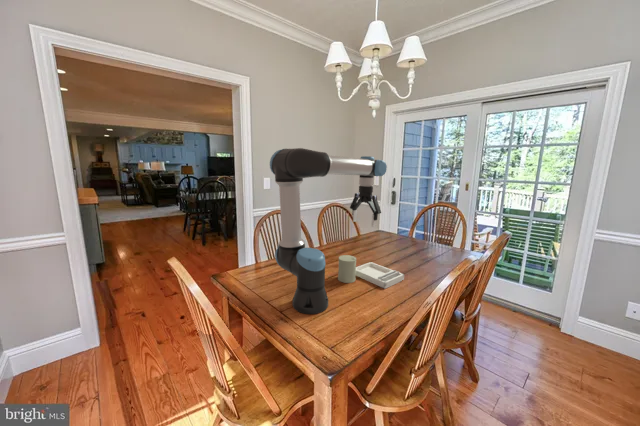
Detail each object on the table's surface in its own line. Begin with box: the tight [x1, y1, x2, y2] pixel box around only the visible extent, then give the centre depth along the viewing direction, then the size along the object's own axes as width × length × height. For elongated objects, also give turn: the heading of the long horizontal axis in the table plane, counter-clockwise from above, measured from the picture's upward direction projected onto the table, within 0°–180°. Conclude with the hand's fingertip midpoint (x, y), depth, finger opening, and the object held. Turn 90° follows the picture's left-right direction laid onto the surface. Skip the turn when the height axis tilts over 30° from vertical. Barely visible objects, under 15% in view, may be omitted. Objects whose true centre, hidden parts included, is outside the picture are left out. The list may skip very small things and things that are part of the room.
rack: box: [355, 261, 405, 290], centre depth 139 cm, size 16×22×4 cm
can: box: [337, 254, 357, 284], centre depth 135 cm, size 9×9×12 cm
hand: (364, 223), depth 146 cm, fingers open, 13 cm apart
